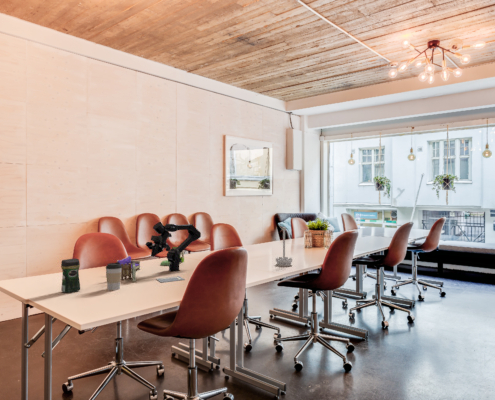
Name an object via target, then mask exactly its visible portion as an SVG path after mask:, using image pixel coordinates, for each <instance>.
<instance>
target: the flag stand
mask: <svg viewBox="0 0 495 400" xmlns="http://www.w3.org/2000/svg"><path fill="white" fill-rule="evenodd" d="M286 229H287V227H286V226H283V227H282V228H281V230H282V256H279V257H278V256H277V257H275V262H276V266H278V267H290V266H292V263H293V257H288V256H286Z"/></svg>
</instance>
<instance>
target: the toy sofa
mask: <svg viewBox="0 0 495 400" xmlns="http://www.w3.org/2000/svg"><path fill="white" fill-rule="evenodd" d="M117 262H118V263H120V265H121V264H123V265H124V264H127V265H128V263H131V272H132V263H135V266H136V271H137V270H140V269H141V265H140V263H141V260H137V259H136V260H135V259H134V260H132V257H131V255H128V256H126V257H124V258H122V259H117V260H116V263H117ZM123 274H124V270H123ZM127 274H128V270H127Z"/></svg>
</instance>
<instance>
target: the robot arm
mask: <svg viewBox="0 0 495 400" xmlns="http://www.w3.org/2000/svg"><path fill="white" fill-rule="evenodd" d="M152 229H153V230H154V231H155V232H156V233H157V234H158V235H151V237H150V241H146V243H145V246H146V247H147V249H149V250H151V254H150V256H151V257H153V258H154V257H155V256H157V255H158V254H160V253H161V252H164V249H165V251H166V252H167V253H166V259H167V260H168V262H170V264H169V265H168V270H169V271H170V272H177V271H178V272H180V264H179V262H181V258H180V257H179V256H180V253H181V254H182V251H184V250H185V249H187V247H189V246H191V244H193V242H195V241H197V240H199V239H200V238H201V236H202V233H201V231H200V230H199V229H198V228H196V227H195V226H194V225H193V224H190V223H187V224H176V223H166V224H165V225H163V223H162V221H158V222H157V223H155V224H154V225H153V226H152ZM185 230H186V231H187V233H188V235H187V238H186V239H184V240H183V241H182V242H181V243H180V244H178V246H176V247H177V248H176V249H172V247H171V246H170V245H169V244H168V243H167V241H168V239H169V238H172V233H174V232H175V233H176V232H177V231H185Z"/></svg>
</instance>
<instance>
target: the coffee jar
mask: <svg viewBox="0 0 495 400" xmlns="http://www.w3.org/2000/svg"><path fill="white" fill-rule="evenodd" d="M60 263H61V266H60V268H61V270H62V271H61V272H62V279H61V292H62V293H65V294H69V293H75V292H76V293H77V292H79V291H81V282H80V274H79V273H80V272H79V269H80V266H81V264H80V260H79V259H78V258H66V259H62V260H61V262H60Z"/></svg>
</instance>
